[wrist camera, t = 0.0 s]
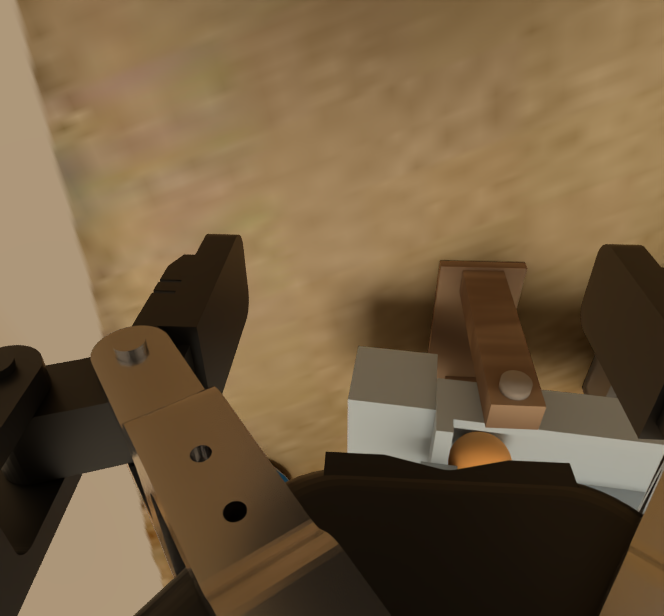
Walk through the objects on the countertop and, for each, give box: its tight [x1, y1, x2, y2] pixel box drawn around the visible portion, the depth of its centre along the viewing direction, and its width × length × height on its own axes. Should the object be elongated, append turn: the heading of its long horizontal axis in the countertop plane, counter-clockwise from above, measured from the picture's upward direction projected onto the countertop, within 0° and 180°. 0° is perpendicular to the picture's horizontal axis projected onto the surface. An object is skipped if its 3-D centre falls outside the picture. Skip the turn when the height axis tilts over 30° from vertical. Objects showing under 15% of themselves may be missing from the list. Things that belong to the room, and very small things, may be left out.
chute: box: [348, 346, 664, 510], centre depth 26 cm, size 7×18×14 cm, turn 91°
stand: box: [428, 261, 546, 430], centre depth 32 cm, size 12×5×11 cm, turn 1°
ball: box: [448, 431, 512, 469], centre depth 28 cm, size 3×3×3 cm
